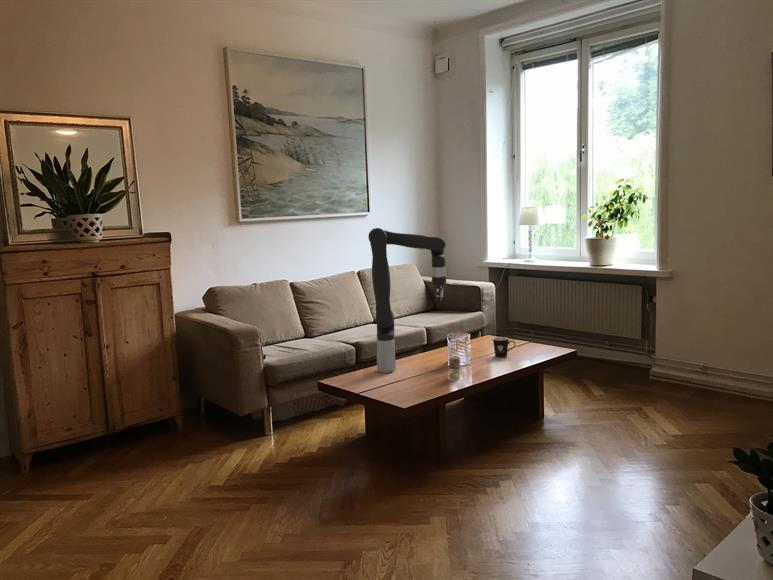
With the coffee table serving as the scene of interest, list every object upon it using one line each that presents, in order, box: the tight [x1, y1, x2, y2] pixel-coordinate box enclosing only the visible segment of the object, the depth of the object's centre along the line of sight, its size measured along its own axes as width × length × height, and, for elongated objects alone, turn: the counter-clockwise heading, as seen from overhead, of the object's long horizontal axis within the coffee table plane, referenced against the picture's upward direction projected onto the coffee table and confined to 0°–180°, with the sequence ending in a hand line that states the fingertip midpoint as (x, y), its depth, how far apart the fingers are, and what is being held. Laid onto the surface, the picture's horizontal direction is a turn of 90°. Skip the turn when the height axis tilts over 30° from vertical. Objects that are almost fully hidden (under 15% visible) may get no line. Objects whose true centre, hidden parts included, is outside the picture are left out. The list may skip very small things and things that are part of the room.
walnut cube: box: [448, 356, 461, 370], centre depth 311 cm, size 5×5×5 cm
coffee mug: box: [492, 336, 516, 358], centre depth 352 cm, size 12×9×10 cm
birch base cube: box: [448, 368, 461, 379], centre depth 311 cm, size 5×5×5 cm
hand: (439, 306), depth 330 cm, fingers open, 8 cm apart
